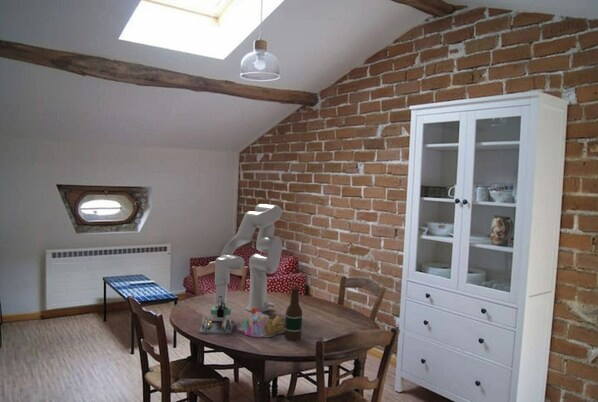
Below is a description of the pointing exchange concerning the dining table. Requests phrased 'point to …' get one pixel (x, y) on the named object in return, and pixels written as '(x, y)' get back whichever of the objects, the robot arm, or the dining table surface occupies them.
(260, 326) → the pastel sphere sculpture
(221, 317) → the white rectangular block
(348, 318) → the dining table surface
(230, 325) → the chassis
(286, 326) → the beer bottle
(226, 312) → the board
